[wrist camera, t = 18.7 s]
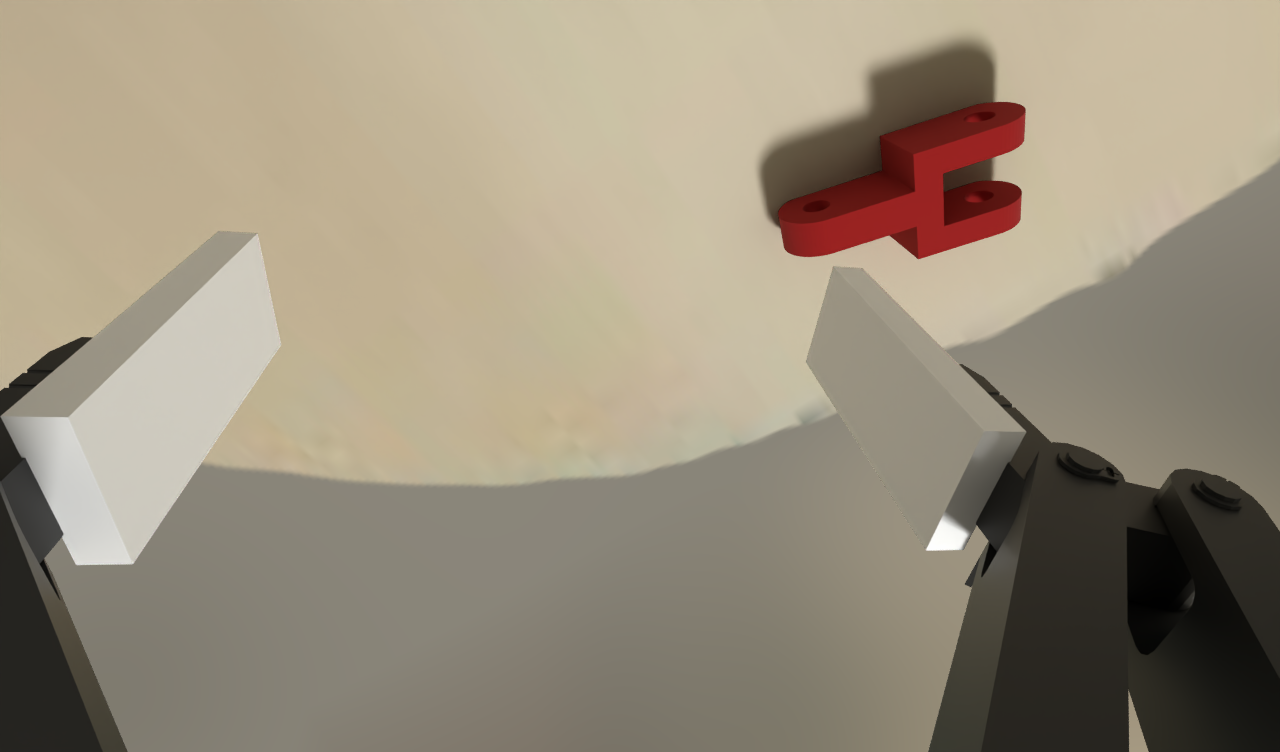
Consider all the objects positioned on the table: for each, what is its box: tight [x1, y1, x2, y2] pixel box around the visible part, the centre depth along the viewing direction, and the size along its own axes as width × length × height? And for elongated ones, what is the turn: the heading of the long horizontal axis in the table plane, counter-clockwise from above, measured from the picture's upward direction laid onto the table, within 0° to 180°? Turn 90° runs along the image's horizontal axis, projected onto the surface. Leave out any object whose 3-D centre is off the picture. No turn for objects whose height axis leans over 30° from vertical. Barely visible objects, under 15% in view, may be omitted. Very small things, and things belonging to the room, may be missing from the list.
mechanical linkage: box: [778, 102, 1026, 259], centre depth 43 cm, size 16×7×5 cm, turn 106°
